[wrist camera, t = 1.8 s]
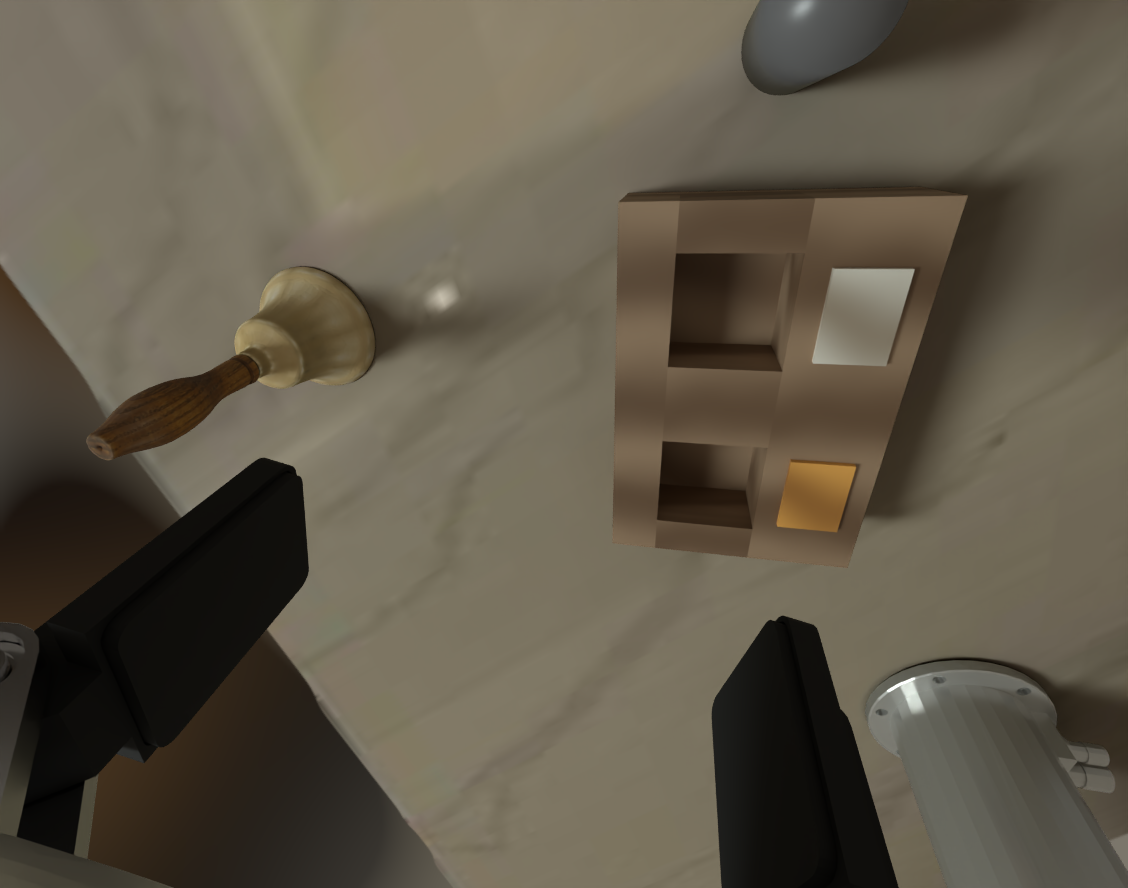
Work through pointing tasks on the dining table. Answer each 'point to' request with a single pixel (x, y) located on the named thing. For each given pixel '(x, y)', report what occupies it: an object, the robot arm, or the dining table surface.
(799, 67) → the plug
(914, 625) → the dining table surface
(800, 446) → the socket block
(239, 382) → the hand bell
